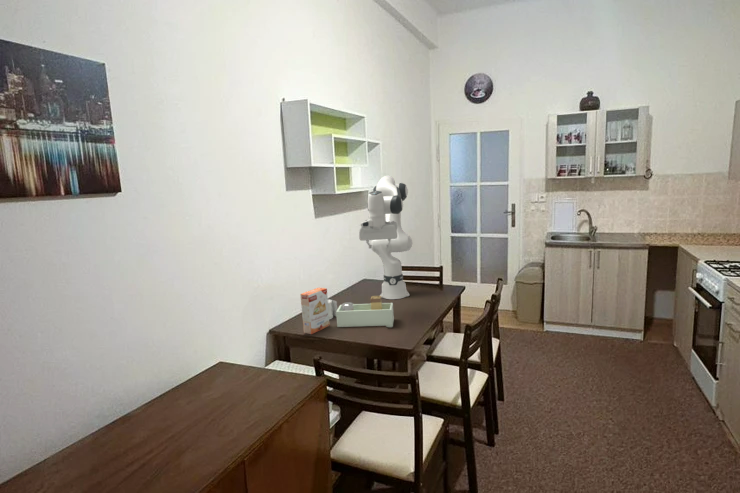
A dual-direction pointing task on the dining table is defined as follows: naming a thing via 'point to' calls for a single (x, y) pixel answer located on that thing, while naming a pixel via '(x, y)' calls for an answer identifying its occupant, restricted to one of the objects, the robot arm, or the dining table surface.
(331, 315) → the toilet tissue
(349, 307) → the tin can
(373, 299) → the oat carton
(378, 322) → the tote
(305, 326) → the cracker box
